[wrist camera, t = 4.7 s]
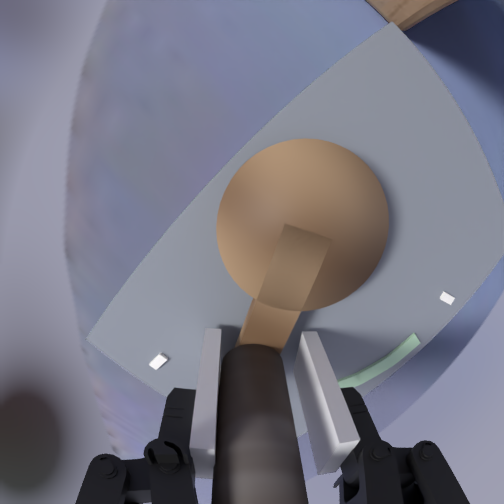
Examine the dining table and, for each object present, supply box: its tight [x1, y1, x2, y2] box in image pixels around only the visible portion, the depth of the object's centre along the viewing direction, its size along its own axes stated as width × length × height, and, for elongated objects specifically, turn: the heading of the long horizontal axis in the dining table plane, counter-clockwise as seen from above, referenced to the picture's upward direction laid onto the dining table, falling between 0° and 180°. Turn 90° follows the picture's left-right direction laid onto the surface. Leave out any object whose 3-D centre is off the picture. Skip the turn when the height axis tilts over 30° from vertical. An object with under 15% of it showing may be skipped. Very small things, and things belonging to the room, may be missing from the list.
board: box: [86, 22, 504, 438], centre depth 13 cm, size 24×16×2 cm, turn 136°
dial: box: [211, 138, 389, 504], centre depth 8 cm, size 15×7×9 cm, turn 162°
